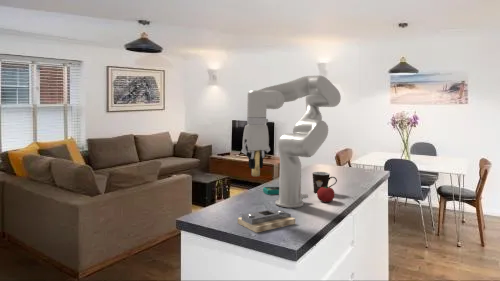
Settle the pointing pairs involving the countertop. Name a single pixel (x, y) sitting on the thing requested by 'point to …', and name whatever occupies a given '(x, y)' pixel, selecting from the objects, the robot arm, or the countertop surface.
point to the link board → (267, 224)
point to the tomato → (325, 194)
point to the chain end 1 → (259, 216)
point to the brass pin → (256, 164)
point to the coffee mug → (321, 180)
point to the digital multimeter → (271, 190)
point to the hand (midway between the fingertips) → (255, 167)
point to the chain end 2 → (282, 215)
